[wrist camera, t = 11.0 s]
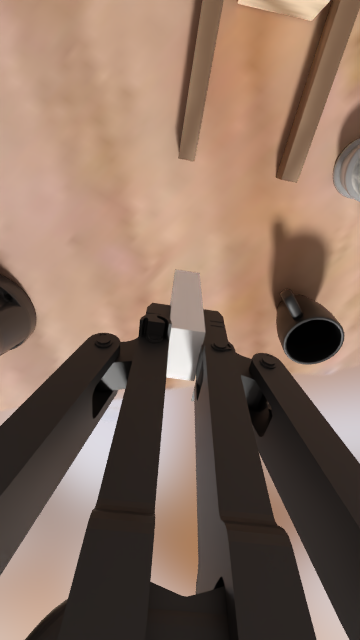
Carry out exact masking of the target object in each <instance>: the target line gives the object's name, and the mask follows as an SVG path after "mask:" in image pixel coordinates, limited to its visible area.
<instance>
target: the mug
mask: <svg viewBox="0 0 360 640" xmlns="http://www.w3.org/2000/svg"><path fill="white" fill-rule="evenodd" d="M280 296H281V298H282V301H281V302H280V304H279V306H278V308H277V319H276V324H277V333H278V337H279V340H280V342H281V345H282V347H283V350H284V352H285V354H286V355H287V356H288V357H289V358H290V359H291V360H292V361H294V362H297V363H300V364H317V363H320V362H323V361H325V360H327V359H329V358H331V357H332V356H334V355H335V354H336V353H337V352H338V351H339V349H340V348H341V346H342V344H343V341H344V331H343V328H342V326H341V325H340V323H339V322H338V321H337V320H336V318H335V317H334V316H333V315H332V314H331V313H330V312H329V311H328V310H327V309H326V308H325V307H323V306H322V305H321V304H319V303H317V302H315V301H313V300H311V299H309V298H307V297H305V296H303V295H294V294H293V292H292V291H291V290H290V289H286V290H283V291H282V292H281V293H280Z"/></svg>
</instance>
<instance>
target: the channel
mask: <svg viewBox="0 0 360 640" xmlns="http://www.w3.org/2000/svg"><path fill="white" fill-rule="evenodd" d="M222 5H223V0H202V7H201V13H200V20H199V26H198V33H197V39H196V46H195V52H194V59H193V65H192V72H191V79H190V85H189V92H188V98H187V105H186V111H185V118H184V124H183V131H182V137H181V144H180V151H179V157H178V158H179V159H184V160H189V161H195V156H196V150H197V145H198V139H199V133H200V128H201V122H202V117H203V111H204V106H205V100H206V94H207V89H208V83H209V78H210V72H211V67H212V61H213V56H214V50H215V44H216V39H217V33H218V28H219V22H220V17H221V11H222ZM359 8H360V0H332V3H331V6H330V9H329V12H328V15H327V19H326V22H325V25H324V28H323V31H322V34H321V37H320V41H319V44H318V47H317V50H316V53H315V56H314V59H313V62H312V66H311V69H310V72H309V75H308V78H307V81H306V84H305V88H304V91H303V94H302V97H301V100H300V103H299V106H298V109H297V113H296V116H295V119H294V122H293V125H292V128H291V131H290V135H289V138H288V141H287V144H286V147H285V150H284V153H283V157H282V160H281V163H280V166H279V169H278V172H277V175H276V178H278V179H281V180H285V181H290V182H295V183H297V182H298V179H299V176H300V173H301V171H302V168H303V165H304V162H305V159H306V157H307V154H308V151H309V148H310V145H311V143H312V140H313V137H314V134H315V131H316V129H317V126H318V123H319V120H320V117H321V115H322V112H323V109H324V106H325V103H326V101H327V98H328V95H329V92H330V89H331V87H332V84H333V81H334V78H335V75H336V73H337V70H338V67H339V64H340V61H341V59H342V56H343V53H344V50H345V47H346V45H347V42H348V39H349V36H350V33H351V31H352V28H353V25H354V22H355V19H356V17H357V14H358V11H359Z"/></svg>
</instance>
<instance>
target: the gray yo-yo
mask: <svg viewBox="0 0 360 640" xmlns="http://www.w3.org/2000/svg"><path fill="white" fill-rule="evenodd" d="M333 182H334V186H335V188H336V189H337V191H338V192H339V193H340V194H341V195H343V196H345V197H348V198H352V199H355V200H357V201H359V202H360V138H358V139H356V140H355V141H353V142H352V143H350V144H349V145H348V146H347V147H346V148H345V149H344V150H343V151H342V153H341V154H340V155H339V157H338V159H337V161H336V163H335V166H334V170H333Z"/></svg>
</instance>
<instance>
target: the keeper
mask: <svg viewBox="0 0 360 640" xmlns="http://www.w3.org/2000/svg"><path fill="white" fill-rule="evenodd" d="M329 1H330V0H238V4H241V5H246V6H250V7H254V8H258V9H262V10H267V11H271V12H275V13H279V14H284V15H288V16H292V17H296V18H301V19H305V20H309V21H312V20H313V19H314V18H315V17H316V16H317V15H318V13H319V12H320V11H321V10H322V9H323V8H324V7H325V6H326V5H327V4H328V2H329Z"/></svg>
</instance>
